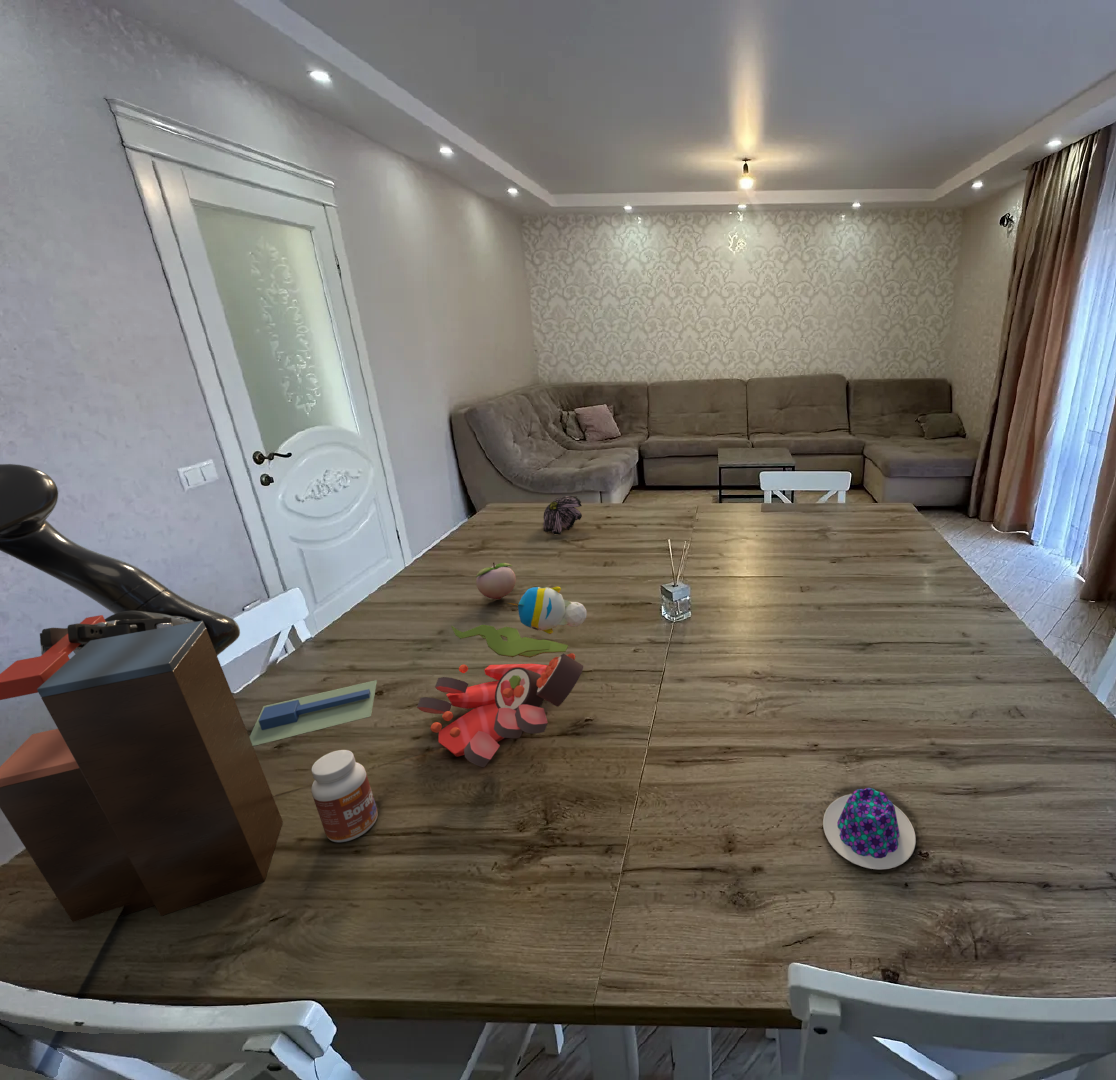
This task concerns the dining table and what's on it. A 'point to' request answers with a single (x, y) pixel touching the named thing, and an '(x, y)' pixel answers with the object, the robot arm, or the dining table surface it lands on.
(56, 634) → the robot arm
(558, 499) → the decorative flower
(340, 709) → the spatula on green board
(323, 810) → the pill bottle
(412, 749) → the dining table surface
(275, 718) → the blue spatula
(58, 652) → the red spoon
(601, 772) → the dining table surface
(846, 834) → the pudding
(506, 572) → the decorative fruit
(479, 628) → the sushi set
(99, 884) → the wooden stand
